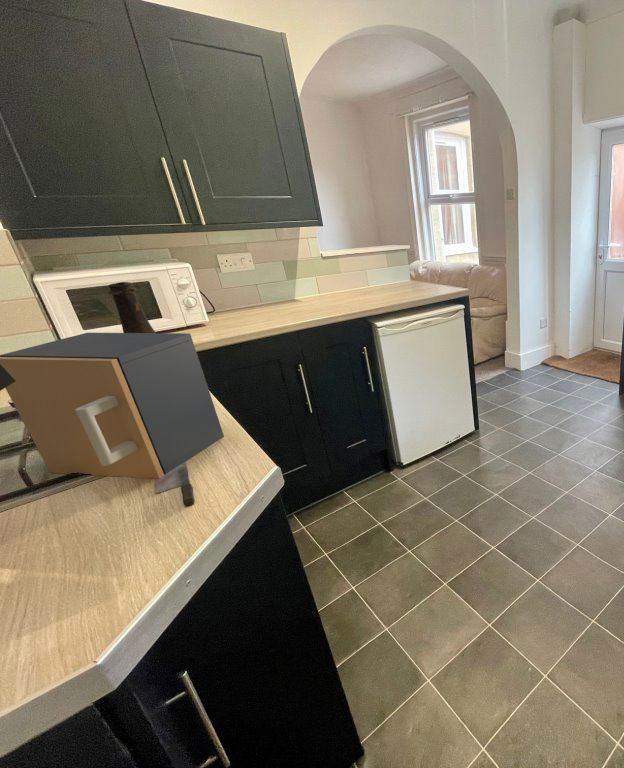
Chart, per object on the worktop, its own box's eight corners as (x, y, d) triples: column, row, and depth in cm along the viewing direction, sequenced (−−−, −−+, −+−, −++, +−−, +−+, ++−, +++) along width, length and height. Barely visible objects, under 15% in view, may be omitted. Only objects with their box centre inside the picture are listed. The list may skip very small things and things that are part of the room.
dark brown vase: (213, 378, 120) (181, 278, 109) (141, 402, 105) (96, 290, 95) (176, 370, 127) (143, 276, 117) (104, 392, 112) (58, 286, 102)
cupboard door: (131, 497, 69) (74, 372, 60) (15, 490, 72) (-55, 370, 63) (164, 475, 75) (116, 358, 66) (56, 469, 77) (-3, 356, 69)
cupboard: (166, 475, 75) (118, 357, 66) (58, 469, 78) (-2, 355, 69) (224, 436, 88) (190, 333, 79) (130, 432, 90) (87, 332, 82)
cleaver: (153, 470, 76) (187, 460, 79) (155, 475, 76) (189, 465, 79) (154, 512, 64) (193, 499, 67) (156, 518, 64) (196, 504, 67)
